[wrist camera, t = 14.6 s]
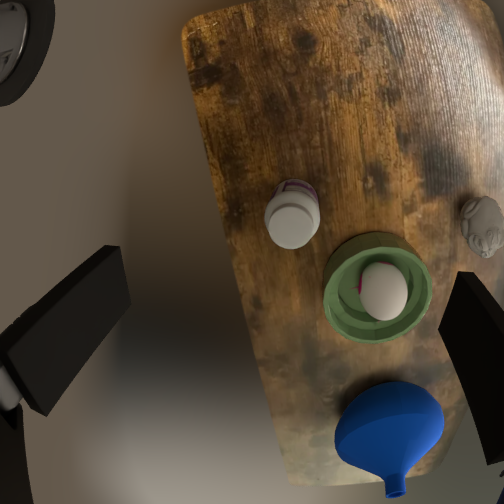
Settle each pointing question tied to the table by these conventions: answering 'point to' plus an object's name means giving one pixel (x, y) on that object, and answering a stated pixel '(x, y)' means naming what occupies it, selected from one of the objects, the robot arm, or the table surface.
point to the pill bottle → (292, 214)
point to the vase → (389, 431)
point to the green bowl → (347, 277)
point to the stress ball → (382, 290)
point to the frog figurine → (482, 225)
